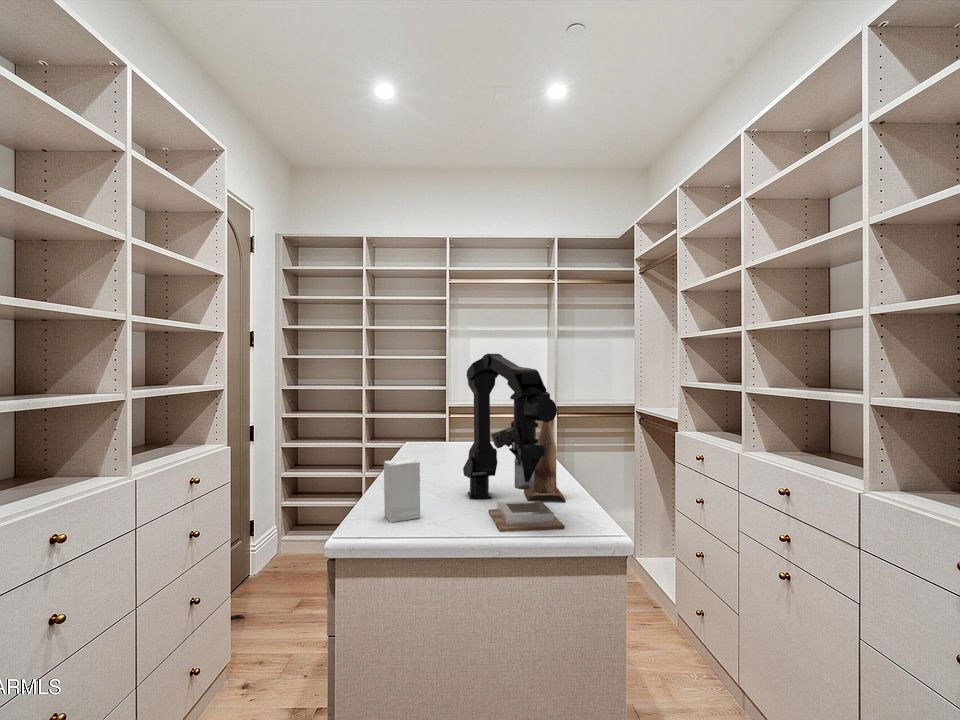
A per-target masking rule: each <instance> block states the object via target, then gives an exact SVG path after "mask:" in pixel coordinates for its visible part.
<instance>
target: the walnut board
mask: <svg viewBox="0 0 960 720" xmlns="http://www.w3.org/2000/svg"><path fill="white" fill-rule="evenodd" d="M488 514H489V516H490V518H491V517H492V518H491V520H492V519H493V520H492V521H493V523H494V522H495V523H494V524H496V525H495V526H497V527H496V528H497V530H498V532H500V533H503V532H502V531H509V532H523V531H525V532H526V531H531V530H532V531H547V530H548V531H551V530H553V529H555V530H566V528H565V525H564V524H563V522H561V520H560V519H559V518H557V516H555V515H554V524H530V525H505V523H504V521H503V520H502V518H501V517H500V515H499V513H498V512H497V508H492V509H491V508H490V509H488Z"/></svg>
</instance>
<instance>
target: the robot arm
mask: <svg viewBox="0 0 960 720" xmlns="http://www.w3.org/2000/svg"><path fill="white" fill-rule="evenodd" d="M499 376H501V377H502V378H503V379H505V380H507V385H508V387H509V388H510V389H511V390H512V391H513V394H511V395H510V397H509V398H510V400H513V420H511V422H510V427H508V428H505V429H501V430H499V431H496V432H494V433H491V400H490V399H491V397H490V396H491V393H492V391H493V390H494V387H495V386H496V379H497V378H498V377H499ZM466 379H467V385H468V388H469V390H470V391H471V392H472V393H473V440H474V441H473V444H472V445H471V446H470V449H469V450H468V458H467V460H466V462H465V464H464V465H463V467H462V471H463V476H465V477H466V478H468V479H469V491H467V496H468V498H469V499H491V498H492V495H491V493H490V492H489V491H490V484H489V483H490V480H489V479H490V477H495V476H496V473H497V467H498V457H497V456H498V450H497V449H501V448H503V447H504V446H506V447H508V450H509V451H510V452H511V453H512V455H514V457H515V458H514V459H517V458H519V459H520V460H521V461H522V467H523V474H524V480H525V482H529V481H530V479H531V477H532V474H533V472H534V470H535V468H536V466H537V464H538V462H539V460H540V458H542V457H546V448H545V447H544V446H543V445H541V444H540V443H538V439H537V438H538V437H537V428H538V427H539V423H538V422H542V421H543V422H550V421H551V422H552V421H553V420H554V419H555V418H556V416H557V414H558V407H557V404H556V403H555V401H554V400H553V399H551V394H550V393H549V394H548V393H547V392H548V391H547V388H546V386H545V384H544V381H543V379H542V376H541V375H540V373H539V371H538V370H537V369H535V368H531V367H522V366H519V365H518V364H516V363H514V362H512V361H510V360H509V359H507V358H506V357H504V356H503V355H502V354H500V353H486V354H483V356H482V357H481V358H479V359H478V360H476V361H474V362H472V363H471V365H470V366H469V367H468V369H467V370H466ZM537 421H538V422H537ZM491 440H492V442H493V444H494V446H493V444H492V442H491ZM494 447H495V448H494ZM509 447H510V448H509Z"/></svg>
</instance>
